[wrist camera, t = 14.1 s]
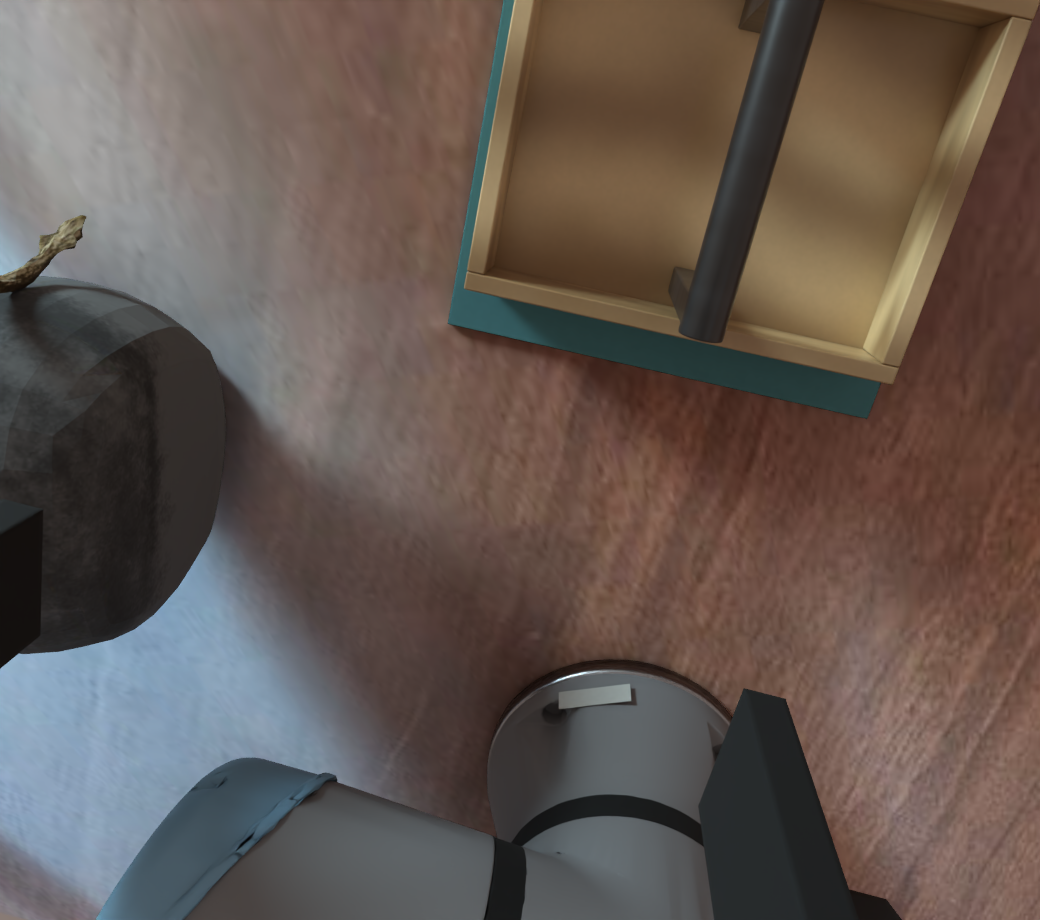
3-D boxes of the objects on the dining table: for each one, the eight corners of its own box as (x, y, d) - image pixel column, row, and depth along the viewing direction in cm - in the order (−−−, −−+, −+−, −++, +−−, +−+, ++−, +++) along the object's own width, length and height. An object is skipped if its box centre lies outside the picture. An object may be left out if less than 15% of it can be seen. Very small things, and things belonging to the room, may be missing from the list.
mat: (865, 417, 40) (867, 419, 40) (448, 322, 41) (447, 323, 40) (1041, -47, 33) (1045, -48, 33) (531, -153, 33) (530, -156, 33)
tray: (866, 363, 39) (959, 441, 28) (477, 276, 39) (427, 321, 29) (995, 13, 33) (1170, -52, 23) (542, -82, 34) (509, -187, 24)
